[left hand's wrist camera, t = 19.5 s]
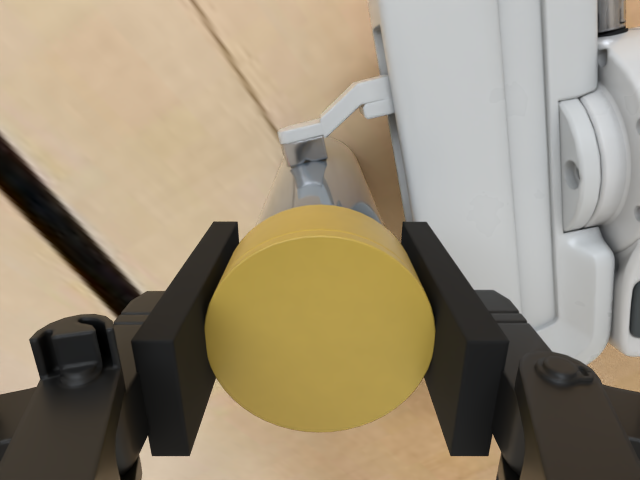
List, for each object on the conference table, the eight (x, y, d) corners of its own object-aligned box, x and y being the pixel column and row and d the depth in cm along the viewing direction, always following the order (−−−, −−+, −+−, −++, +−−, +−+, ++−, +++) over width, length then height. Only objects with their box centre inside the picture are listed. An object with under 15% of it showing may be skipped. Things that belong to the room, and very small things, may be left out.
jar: (294, 123, 24) (255, 206, 10) (373, 152, 25) (449, 272, 10) (268, 200, 26) (201, 372, 11) (343, 226, 26) (371, 421, 12)
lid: (419, 364, 13) (438, 422, 11) (243, 381, 13) (228, 442, 11) (411, 192, 11) (433, 221, 9) (205, 215, 11) (179, 250, 9)
